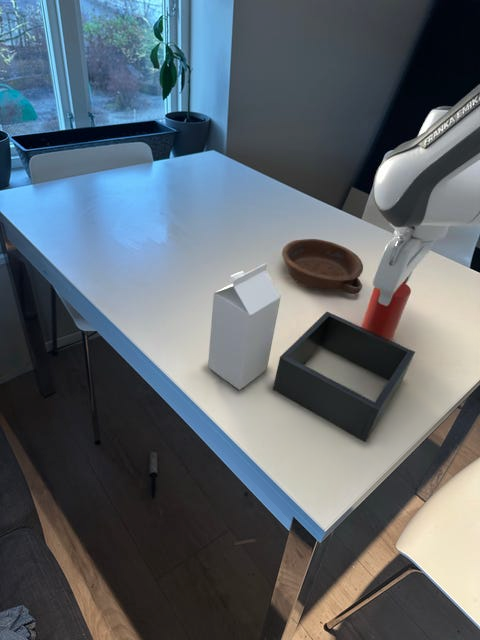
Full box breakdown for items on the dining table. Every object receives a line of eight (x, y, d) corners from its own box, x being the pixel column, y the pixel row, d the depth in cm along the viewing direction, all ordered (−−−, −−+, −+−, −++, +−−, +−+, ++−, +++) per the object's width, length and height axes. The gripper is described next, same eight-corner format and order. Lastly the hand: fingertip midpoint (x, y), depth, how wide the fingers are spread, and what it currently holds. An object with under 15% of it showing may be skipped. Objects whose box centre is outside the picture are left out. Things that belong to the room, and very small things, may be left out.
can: (394, 339, 85) (415, 286, 78) (383, 354, 81) (404, 300, 74) (365, 325, 88) (383, 273, 81) (353, 340, 84) (370, 286, 77)
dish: (330, 313, 90) (336, 292, 87) (257, 264, 103) (259, 245, 100) (380, 287, 100) (386, 268, 97) (307, 246, 112) (311, 228, 109)
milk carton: (267, 370, 75) (285, 273, 64) (239, 391, 70) (253, 291, 59) (235, 349, 78) (248, 253, 67) (207, 368, 74) (215, 269, 62)
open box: (401, 382, 76) (415, 351, 72) (365, 442, 65) (379, 409, 61) (318, 341, 82) (326, 311, 78) (272, 389, 71) (279, 356, 67)
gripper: (420, 246, 61) (390, 326, 69) (457, 206, 75) (428, 276, 84) (377, 231, 64) (353, 309, 72) (420, 195, 78) (395, 264, 86)
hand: (393, 291), depth 78 cm, fingers open, 8 cm apart
